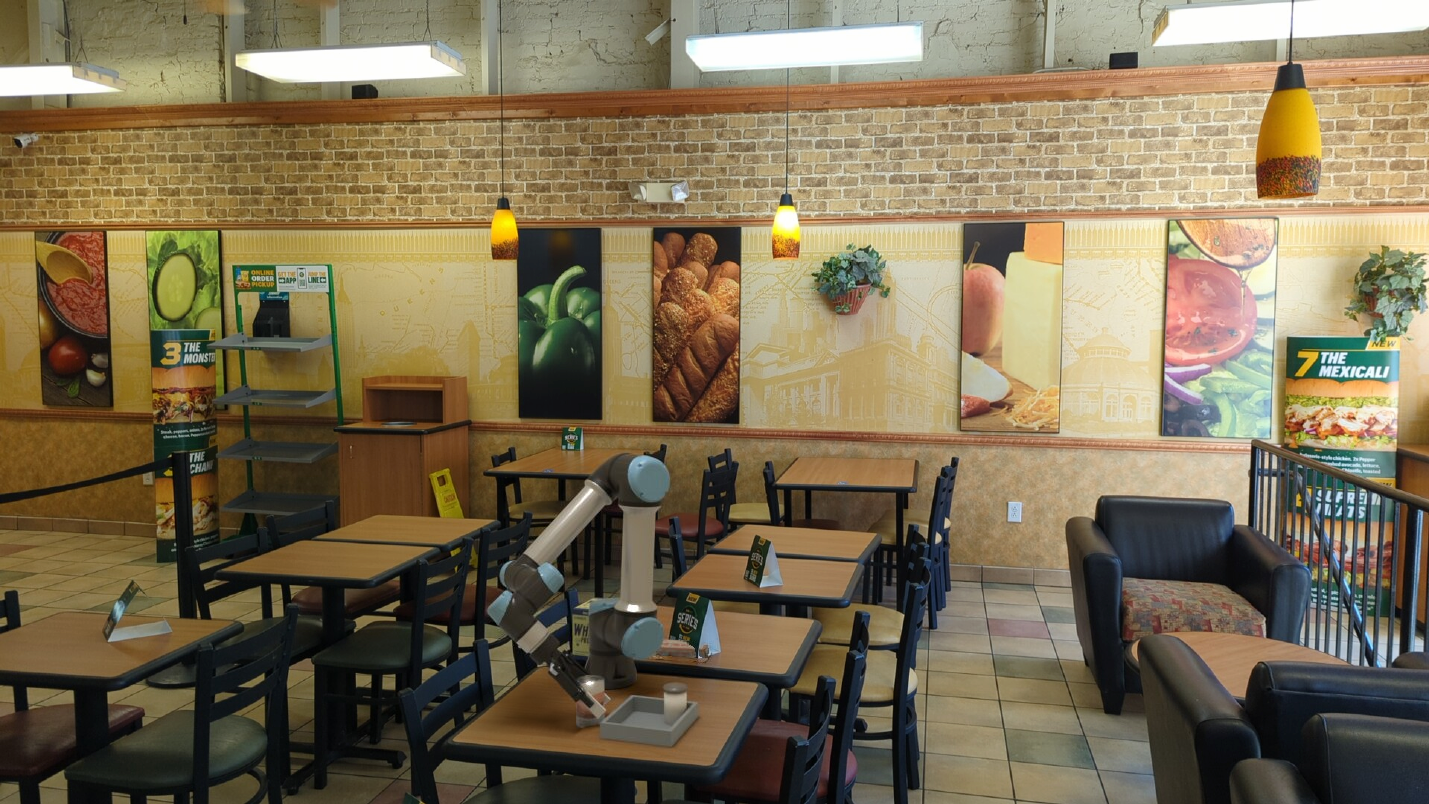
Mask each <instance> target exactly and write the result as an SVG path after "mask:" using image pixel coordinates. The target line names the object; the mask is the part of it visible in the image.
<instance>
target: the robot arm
mask: <svg viewBox="0 0 1429 804" xmlns="http://www.w3.org/2000/svg"><path fill="white" fill-rule="evenodd" d="M670 476H671V475H670V471H669V470H668V468H667V466H666V465H665V464H664V463H663V462H662V461H661V460H659V459H657V458H655V457H652V456H650V455H643V454H636V453H635V454H634V453H629V452H619V453H617V454H614V455H613V456H611V457H608V458H607V459H606V460H605V461H603V463H601V464H600V465H599V466H598V467H597V468H596V469H595V470H594V471H593V472H592V473H591V474H590V475H589V476H588V477H587V478H586V479H585V480H584V487H583V488H581V490H580V491H579V492H578V494H576V496H574V498H573V499H572V500H571V501H570V502H569V503H568V504H566V505H567V506H565V507H564V508H563V509H562V510H561V512H560V513H559V514H558V515H557V516H556V517H555V518H554V520H552V522H551V523H549V525H548V526H547V527H546V528H545V529H544V530H543V531H542V532H541V534H539V535H538V537H537V538H536V539H535V540H534V541H533V542H532V543H531V544H530V545H529V546H528V547H527V548H526V550H525V551H524V552H523V553H522V554H521V555H520V556H519V557H518V558H517V559H516V560H515V559H514V560H510V561H507V562H506V563H505V564H503V565H502V567H501V569H500V572H499V580H500V583H501V584H502V585H503V586H504V587H505V588H506V590H504V591H503V592H502V593H501V594H500V595H499V596H498V597H497V598H496V599H495V600H494V601H493V602H492V603H491V604H490V605H489V606H488V608H487V614H488V615H489V617H490V618H491V619H492V620H493V622H495V623H496V625H497V626H498V627H499V628H500V629H501V630H503V632H504V633H506V634H507V635H508V636H509V637H510V638H511V639H512V640H513V641H514V642H515V643H516V644H517V645H518V646H517V647H518V649H522V650H523V651H524V652H525V653H526V654H529V657H530V658H531V660H532V661H533V662H535V664H537V666H541V665H543V664H544V663H545V664H546V665H547V667H548V668H549V669H548V671H547V674H548V675H549V676H550V677H551V678H553V679H554V681H556V682H557V684H559V686H560V687H562V689H563V691H565V692H566V693H567V694H568V695H569V697H570V698H571V699H572V700H573V701H574V702H575V703H576V702H578V701H579V700H580V701H581V702H582V703H583V704H584V705H585V706H586V707H587V708H588V709H589V710H590V711H591V712H592V713H593V714H594V715H595V716H596V717H597V718H599V717H600V716H601V715H602V714H603V713H604V712H605V713H606V712H607V709H606V707H605V708H604V707H603V706H602V705H601V704H600V703H599V702H598V701H597V700H596V699H595V698H594V697H593V696H592V695H591V694H590V693H589V692H588V691H587V692H585V691H584V689H583V688H582V687H581V685H580V684H579V683H578V682H577V680H576V679H577V678H579V677H582V676H587V675H597V676H601V677H603V678H604V689H605V690H612V689H613V690H615V689H621V688H626V687H629V686H632V685H634V684H635V683H636V682H637V680H638V673H637V668H636V665H635V661H634V660H646V659H648V658H649V657H651V656H653V655H654V654H655V652H656V651H657V650H659V648H660V647H661V645H662V643H663V640H664V639H665V629H664V625H663V624H662V622H661V621H660V620H658V605H657V604H656V603H655V602H654V601H653V586H654V584H653V583H654V565H655V564H654V556H655V532H656V531H655V530H656V513H657V512H658V510H659V509H660V508H661V507H662V500H663V499H664V498H665V496H666V494H668V492H669V489H670V485H671V477H670ZM617 498H618V499H617ZM615 500H617V501H618V502H617V503H618V504H617V505H618V507H619V508H620V509H621V510H622V511H623V516H622V517H623V518H622V547H621V572H620V573H621V574H620V575H621V576H620V596H619V597H609V598H607V599H600V600H596V601H593V602H592V603H591V604H590V606H589V614H588V616H589V656H588V659H587V661H586V663H585V665H584V667H583V666H582V664H580V663H579V662H578V661H577V659H573V656H572V655H570V653H569V652H568V651H567V650H566V649H562V651H560V650H559V647H560V646H561V642H560V641H559V640H558V638H557V637H555V636H554V634H551V633H550V634H549V629H548V628H547V627H545V625H543V624H542V622H540V621H539V620H538V619H537V617H535V616H534V615H535V614H537V612H538V611H539V610H540V609H542V607H543V606H544V605H545V604H546V603H547V602H548V601H549V600H550V599H551V598H552V597H553V596H554V595H556V594H557V592H558V591H559V590H560V589H561V587H563V585H564V583H565V578H564V576H563V575H562V574H561V572H560V571H559V570H558V569H557V568H556V567H555V566H554V565H552V563H553V562H554V561H555V560H556V559H557V558H558V557H559V556H560V555H561V554H562V553H563V551H564V550H565V549H567V547H568V546H569V545H570V544H571V543H572V542H573V541H574V540H575V538H576V537H577V536H578V535H579V534H580V533H581V532H582V531H583V529H584V528H586V527H587V526H588V525H589V523H590V522H591V521H592V520H593V519H594V518H595V517H596V516H597V514H599V512H600V511H602V509H603V508H604V507H605V506H609V505H611V504H613V503H614V501H615ZM507 589H508V590H507ZM512 592H513V593H512ZM611 700H612V699H611V698H610V697H609V696H608V695H607V693H605V706H606V705H607V704H608V703H609V702H610V701H611Z"/></svg>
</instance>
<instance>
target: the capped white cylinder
mask: <svg viewBox="0 0 1429 804" xmlns="http://www.w3.org/2000/svg"><path fill="white" fill-rule="evenodd" d="M687 693H688V690H687V691H686V692H684V693H680V694H670V693H666V692H664V691H663V699H664V723H666V724H668V725H673V724H674V723H675V722H676V721H677V720H678V719H679V718H680V717H681V716H682V715H683V714H684V713H685V712H686V711H687V701H688V700H687V698H688V697H687V696H688V695H687Z"/></svg>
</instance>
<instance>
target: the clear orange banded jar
mask: <svg viewBox="0 0 1429 804" xmlns="http://www.w3.org/2000/svg"><path fill="white" fill-rule="evenodd" d="M576 680H577V682H578V683H579V684H580V685H581V687H582V688H583V689H584V691H585V692H587V691H588V692H589V693H590V694H591V695H592V696H593V697H594V698H595V699H596V700H597V701H598V702H599V703H600V704H601V705H602V706H603V707H604V708H605V709H606V707H605V706H606V705H605V694H606V692H605V690H606V689H604V678H603V677H601V676H597V675H587V676H582V677H579V678H577V679H576ZM575 711H576V712H575V713H576V715H575V716H576V717H575V719H576V720H575V721H576V723H575V725H576V726H577V727H578V728H581V729H585V727H587V726H596V725H600V722H602V721H603V720H604V719H605V718H606V717H605V714H606V711H605V712H604V713H603V714H602V715H601V716H600V717H599V718H597V717H596V716H595V715H594V714H593V713H592V712H591V711H590V710H589V709H588V708H587V707H586V706H585V705H584V704H583V703H582V702H581V701H580V700H579V701H578V702H575Z"/></svg>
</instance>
